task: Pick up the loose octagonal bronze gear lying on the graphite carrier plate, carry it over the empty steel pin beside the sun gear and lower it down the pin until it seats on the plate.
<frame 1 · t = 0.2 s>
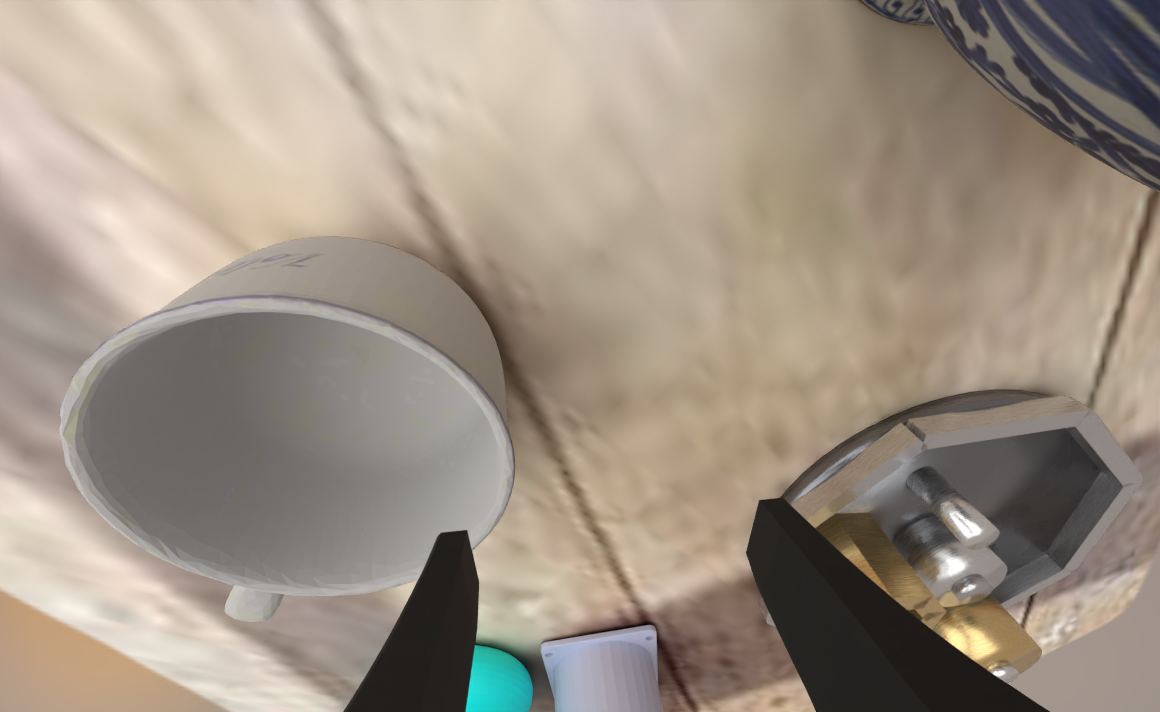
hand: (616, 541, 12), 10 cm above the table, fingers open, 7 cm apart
donuts: (462, 671, 33), on the table
teacup: (365, 365, 20), on the table
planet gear: (834, 542, 28), point 1 cm above the table, touching carrier
carrier: (915, 525, 29), on the table
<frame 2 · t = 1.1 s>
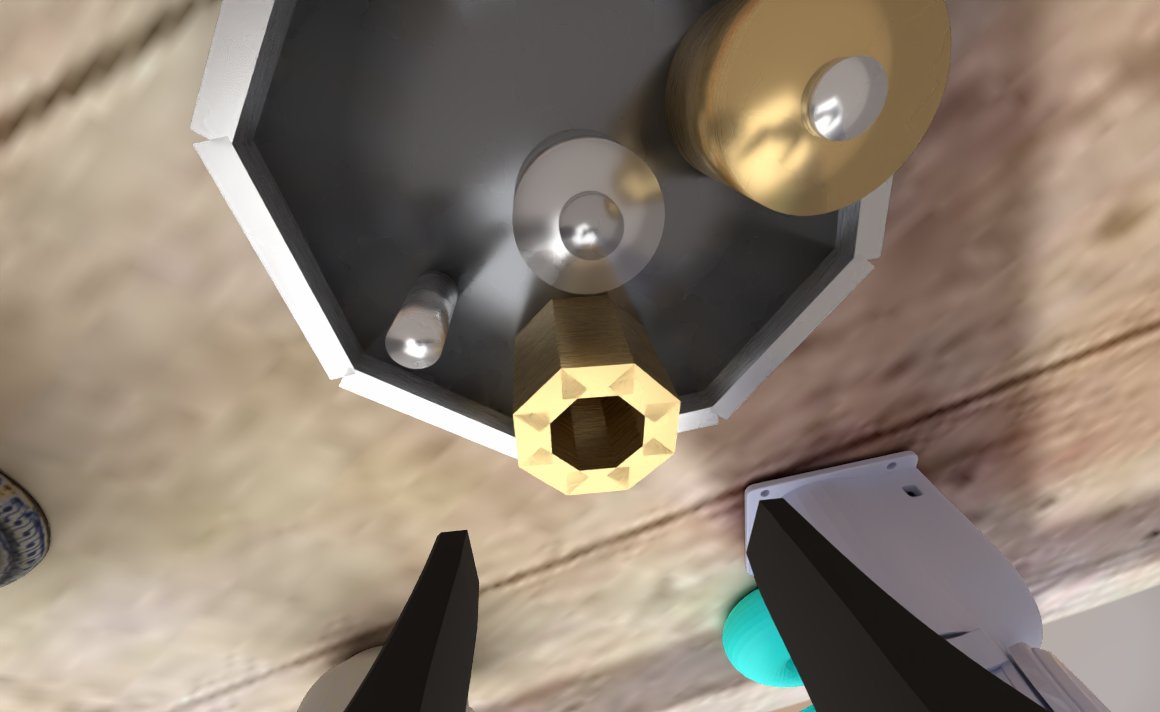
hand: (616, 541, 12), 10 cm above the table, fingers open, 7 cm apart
donuts: (784, 606, 33), on the table
teacup: (418, 669, 32), on the table
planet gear: (581, 355, 19), point 1 cm above the table, touching carrier
carrier: (576, 193, 17), on the table
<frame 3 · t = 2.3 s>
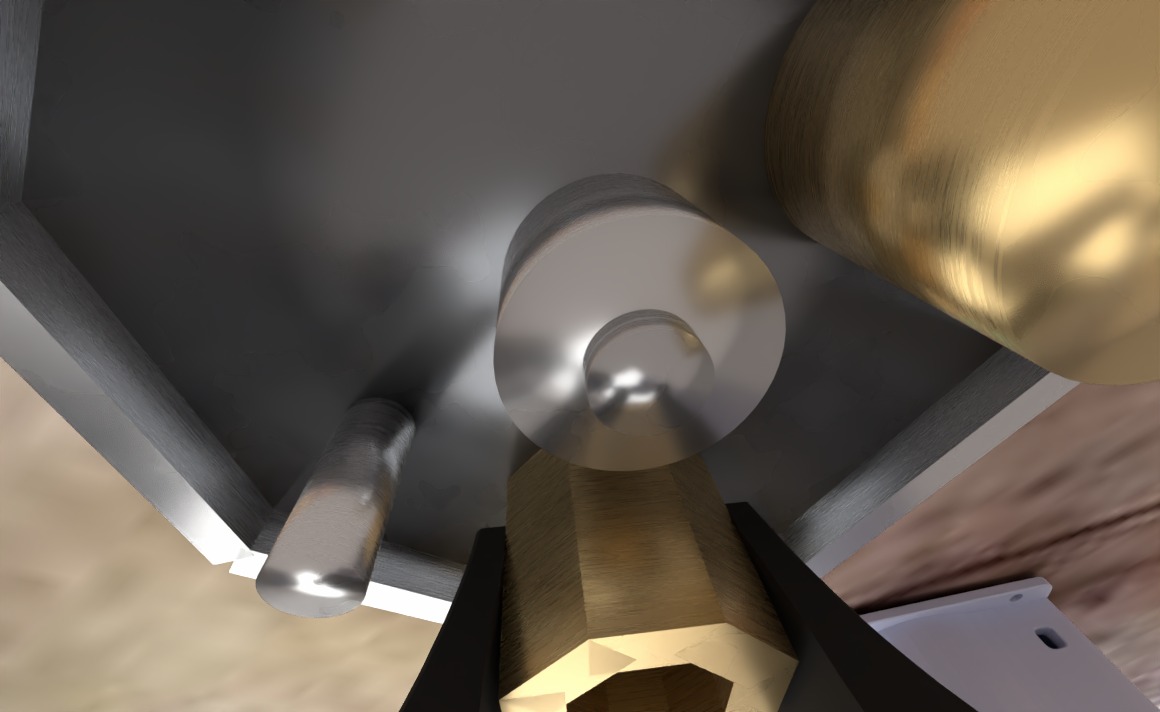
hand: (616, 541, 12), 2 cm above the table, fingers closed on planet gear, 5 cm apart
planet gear: (607, 497, 13), point 1 cm above the table, touching carrier, gripper
carrier: (603, 269, 10), on the table
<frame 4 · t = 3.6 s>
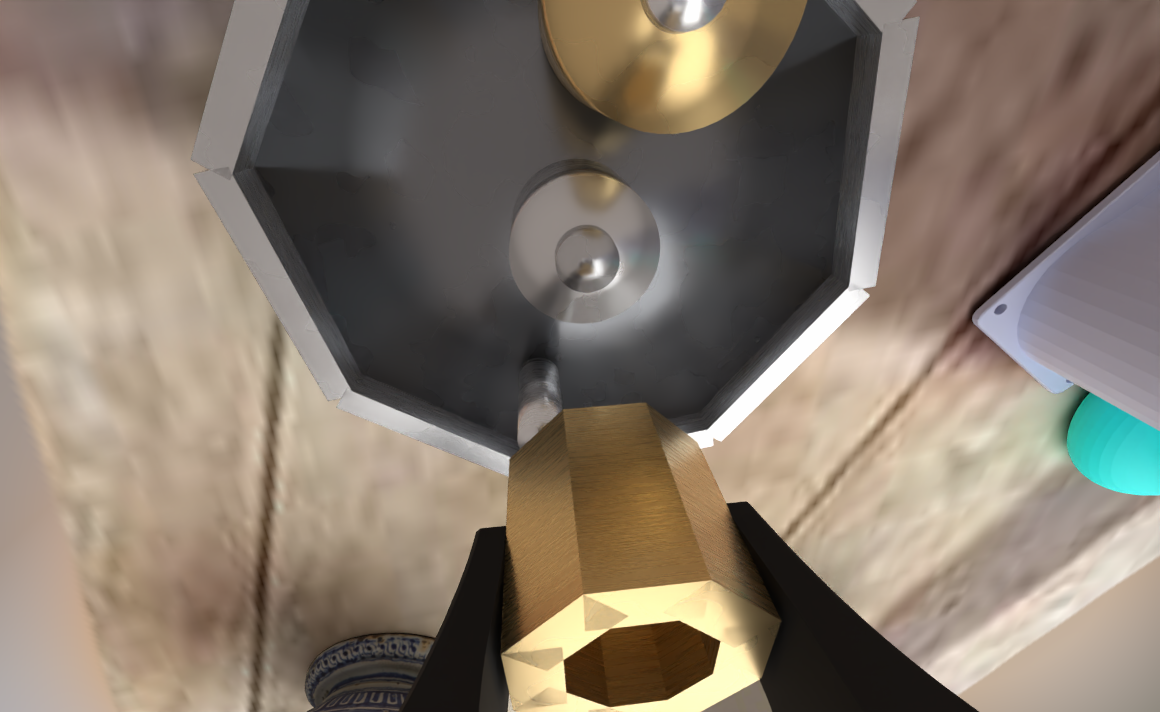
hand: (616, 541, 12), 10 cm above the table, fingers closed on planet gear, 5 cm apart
donuts: (1145, 394, 25), on the table
teacup: (770, 633, 34), on the table
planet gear: (604, 478, 13), point 7 cm above the table, touching gripper
decorative vase: (396, 672, 32), on the table
carrier: (573, 219, 17), on the table
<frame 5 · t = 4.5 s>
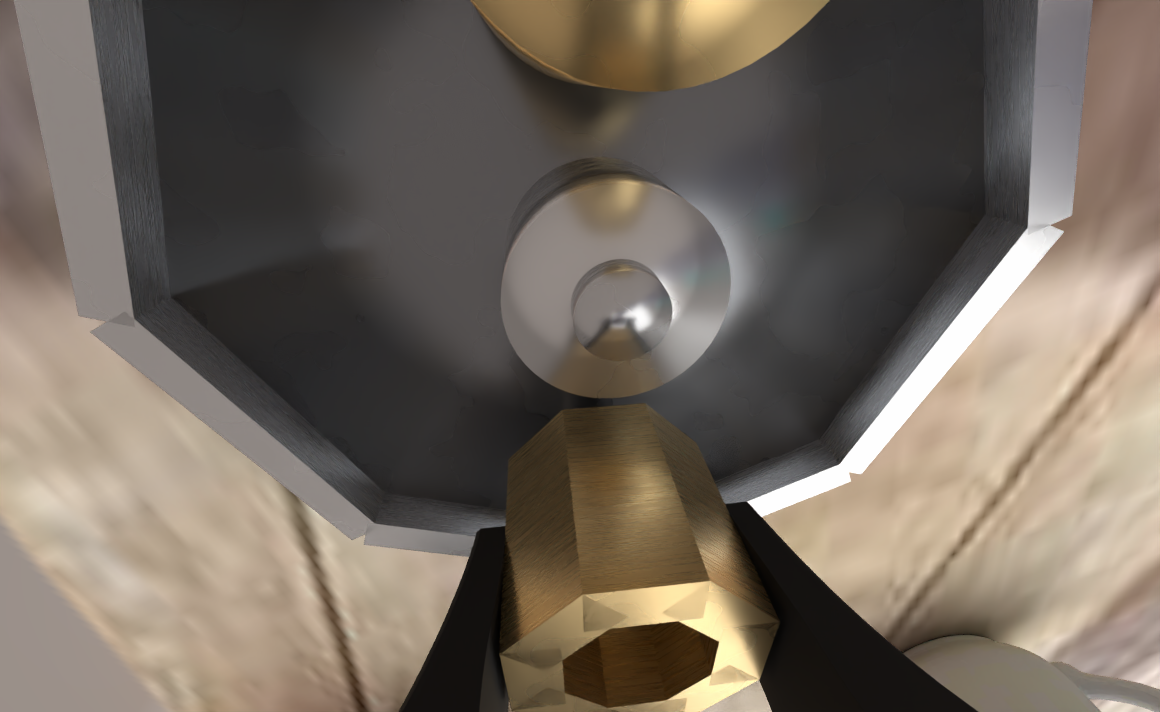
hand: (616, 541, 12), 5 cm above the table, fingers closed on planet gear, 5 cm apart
teacup: (955, 650, 27), on the table
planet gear: (603, 478, 13), point 2 cm above the table, touching gripper
carrier: (591, 241, 12), on the table
when the fingers open (4 cm above the table, at t = 5.1 s): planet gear stays where it is, resting on carrier.
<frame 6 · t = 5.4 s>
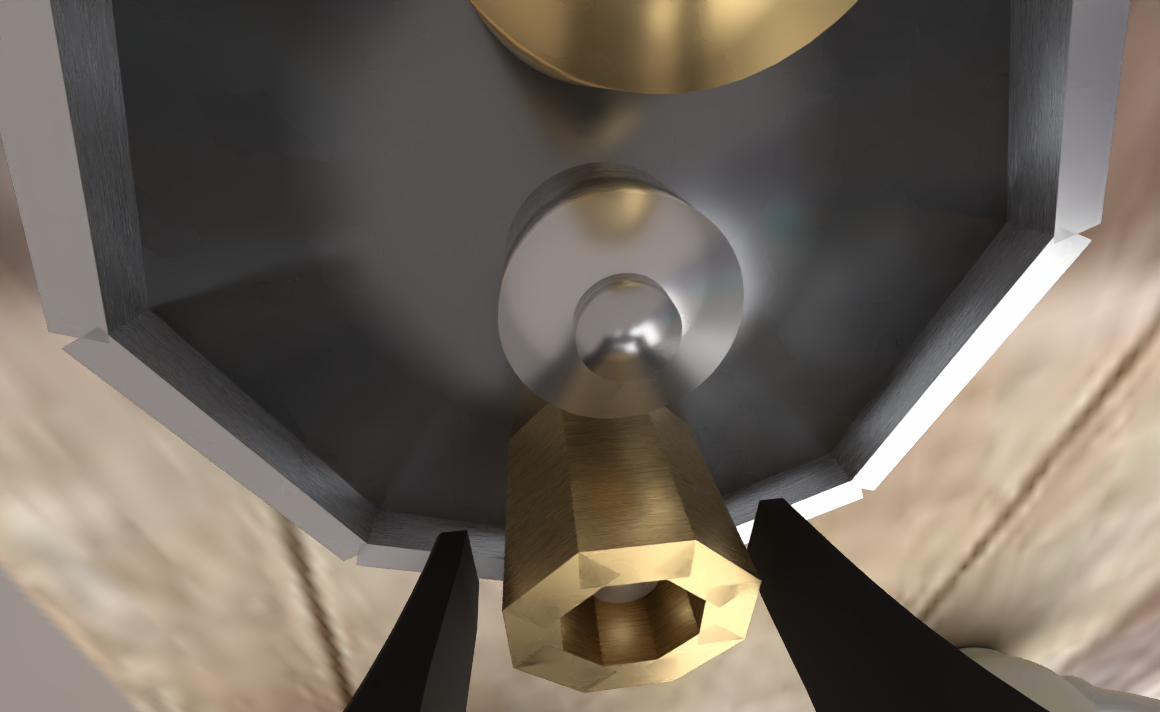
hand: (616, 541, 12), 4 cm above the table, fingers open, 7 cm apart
teacup: (964, 662, 27), on the table
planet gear: (599, 459, 14), point 1 cm above the table, touching carrier
carrier: (593, 249, 12), on the table
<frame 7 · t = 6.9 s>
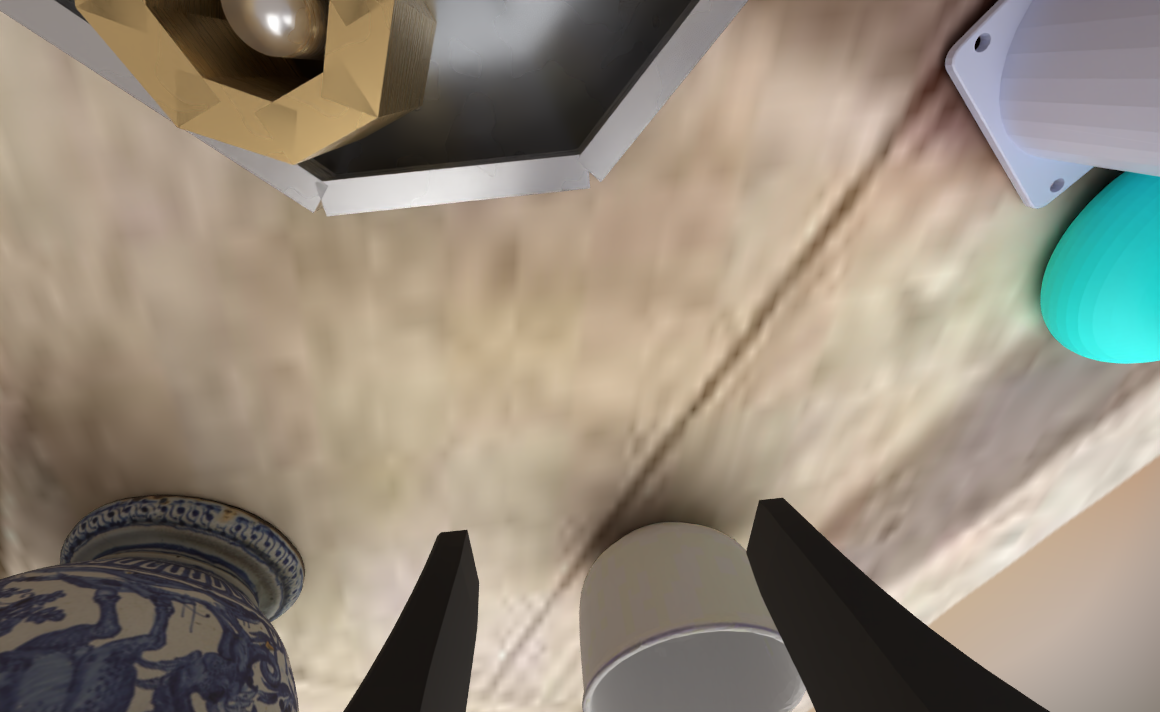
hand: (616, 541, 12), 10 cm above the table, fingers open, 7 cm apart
donuts: (1133, 242, 21), on the table
teacup: (682, 549, 28), on the table
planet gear: (333, 27, 13), point 1 cm above the table, touching carrier
decorative vase: (200, 561, 25), on the table
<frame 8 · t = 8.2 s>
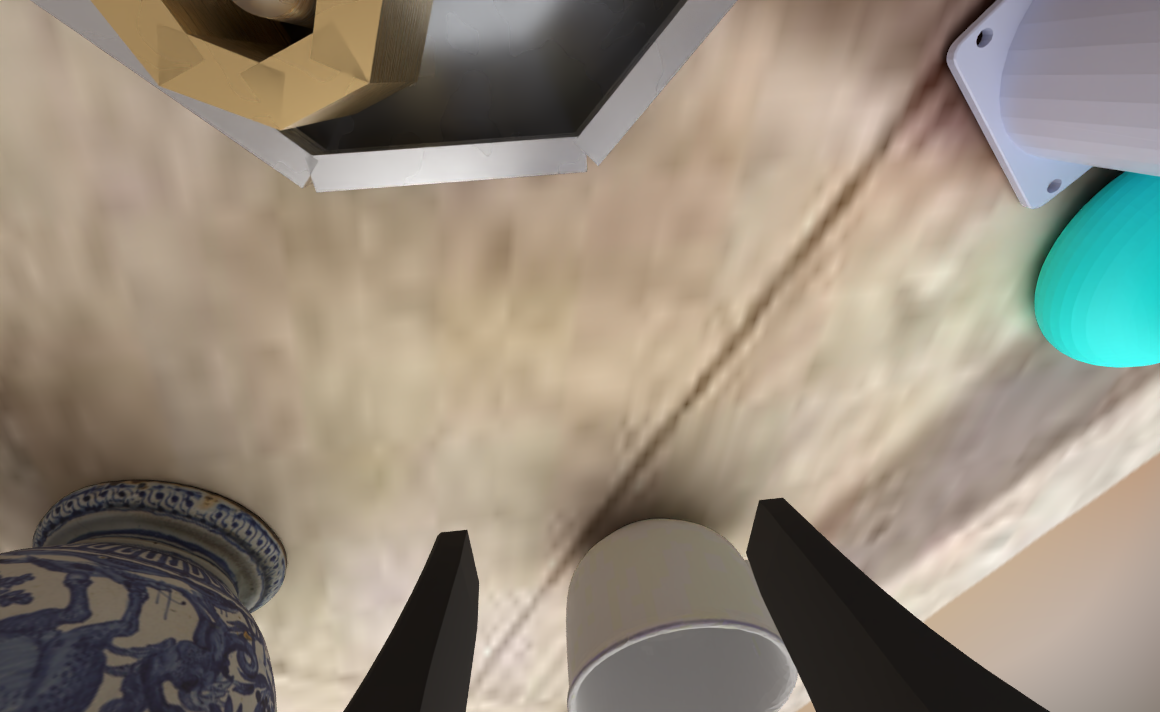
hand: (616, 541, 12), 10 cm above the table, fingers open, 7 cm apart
donuts: (1127, 246, 21), on the table
teacup: (671, 546, 28), on the table
decorative vase: (179, 549, 24), on the table
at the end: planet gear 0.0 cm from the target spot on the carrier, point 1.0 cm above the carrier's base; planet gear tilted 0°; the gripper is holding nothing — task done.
